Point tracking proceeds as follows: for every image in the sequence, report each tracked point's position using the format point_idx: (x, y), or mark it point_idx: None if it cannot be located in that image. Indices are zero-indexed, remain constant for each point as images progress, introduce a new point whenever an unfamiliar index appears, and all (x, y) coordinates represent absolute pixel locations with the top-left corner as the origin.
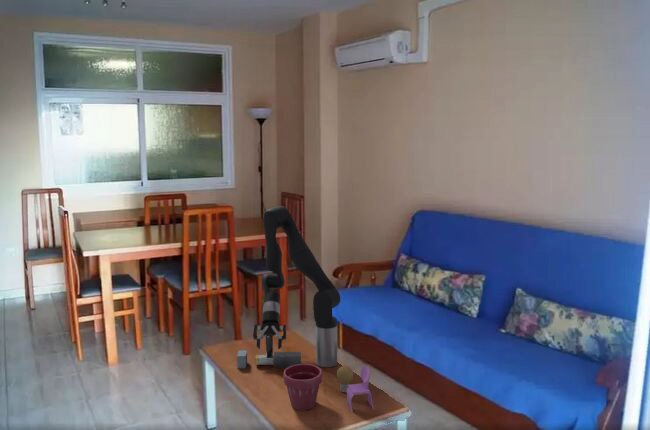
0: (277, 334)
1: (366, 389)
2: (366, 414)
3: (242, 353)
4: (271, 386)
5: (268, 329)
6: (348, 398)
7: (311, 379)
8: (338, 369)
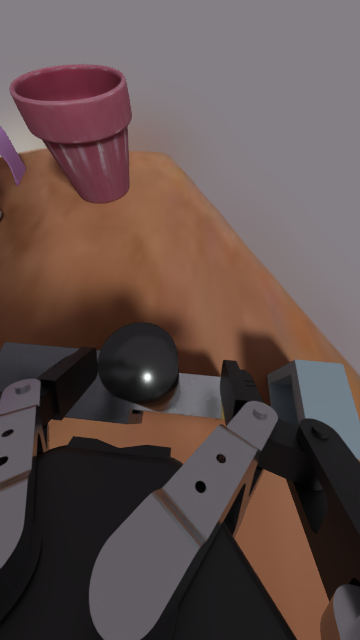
0: (25, 410)
1: None
2: None
3: (324, 399)
4: (165, 249)
5: (114, 531)
6: (10, 154)
7: (62, 66)
8: None
